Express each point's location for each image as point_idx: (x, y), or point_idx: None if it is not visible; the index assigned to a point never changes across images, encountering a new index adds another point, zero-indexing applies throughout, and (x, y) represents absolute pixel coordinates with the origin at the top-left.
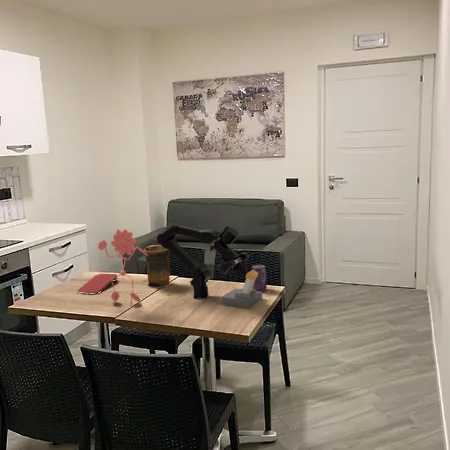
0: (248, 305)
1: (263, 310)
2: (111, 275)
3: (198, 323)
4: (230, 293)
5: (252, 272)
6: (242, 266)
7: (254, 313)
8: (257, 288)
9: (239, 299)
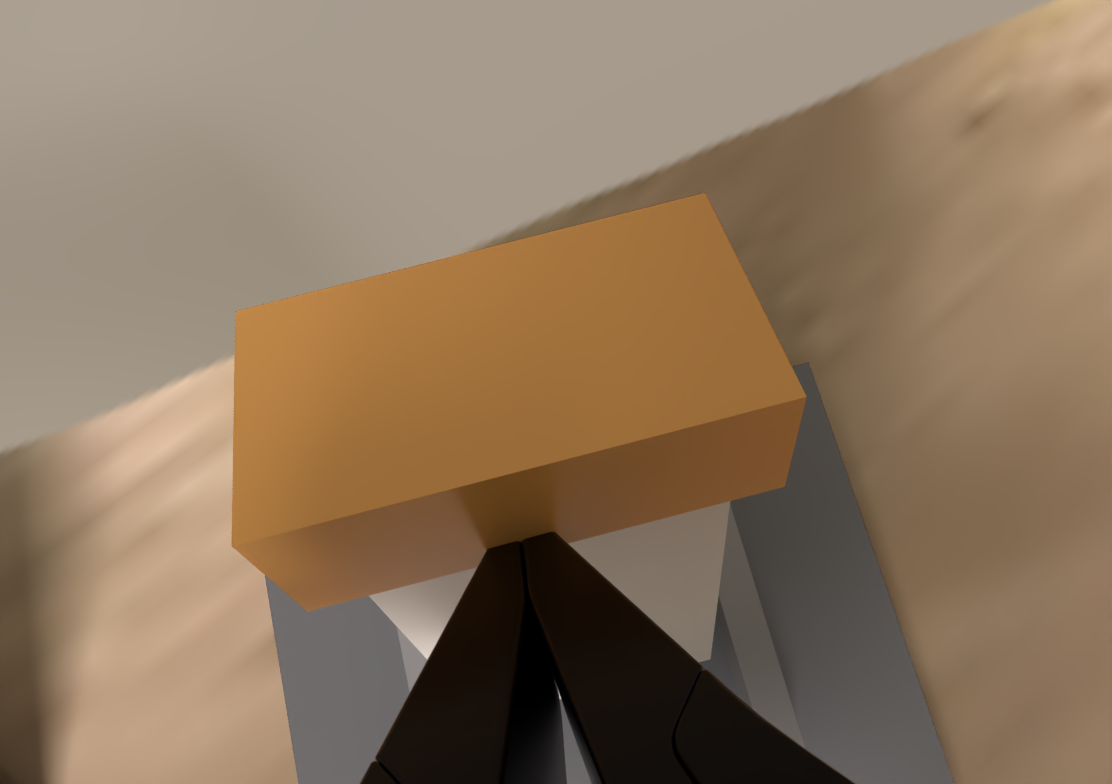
0: None
1: (701, 186)
2: None
3: None
4: None
5: (440, 396)
6: (834, 772)
7: (872, 207)
8: None
9: (866, 550)
